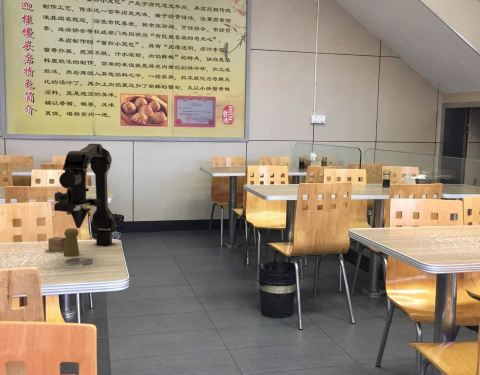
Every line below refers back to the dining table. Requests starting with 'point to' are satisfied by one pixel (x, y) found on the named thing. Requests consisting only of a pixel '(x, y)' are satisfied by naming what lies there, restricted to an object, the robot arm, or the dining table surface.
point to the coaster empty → (79, 261)
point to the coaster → (52, 252)
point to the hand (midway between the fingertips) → (78, 227)
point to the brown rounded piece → (71, 243)
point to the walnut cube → (56, 244)
